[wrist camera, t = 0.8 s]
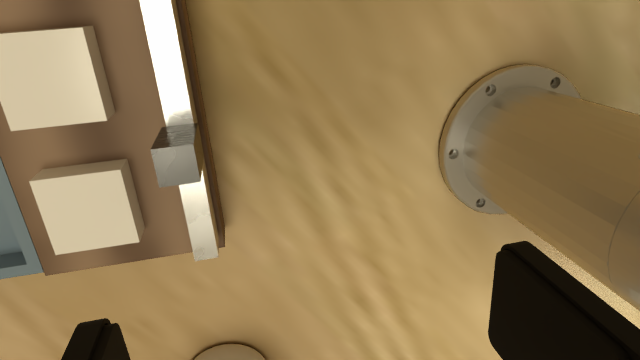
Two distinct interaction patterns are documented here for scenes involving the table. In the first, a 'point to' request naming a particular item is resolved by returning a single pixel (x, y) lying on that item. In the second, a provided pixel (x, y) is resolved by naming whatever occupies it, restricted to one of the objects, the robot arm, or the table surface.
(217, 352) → the milk bottle
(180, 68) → the bar
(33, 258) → the box
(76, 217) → the white tile
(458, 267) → the table surface
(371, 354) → the table surface
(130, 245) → the walnut board
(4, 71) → the white tile
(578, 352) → the robot arm
